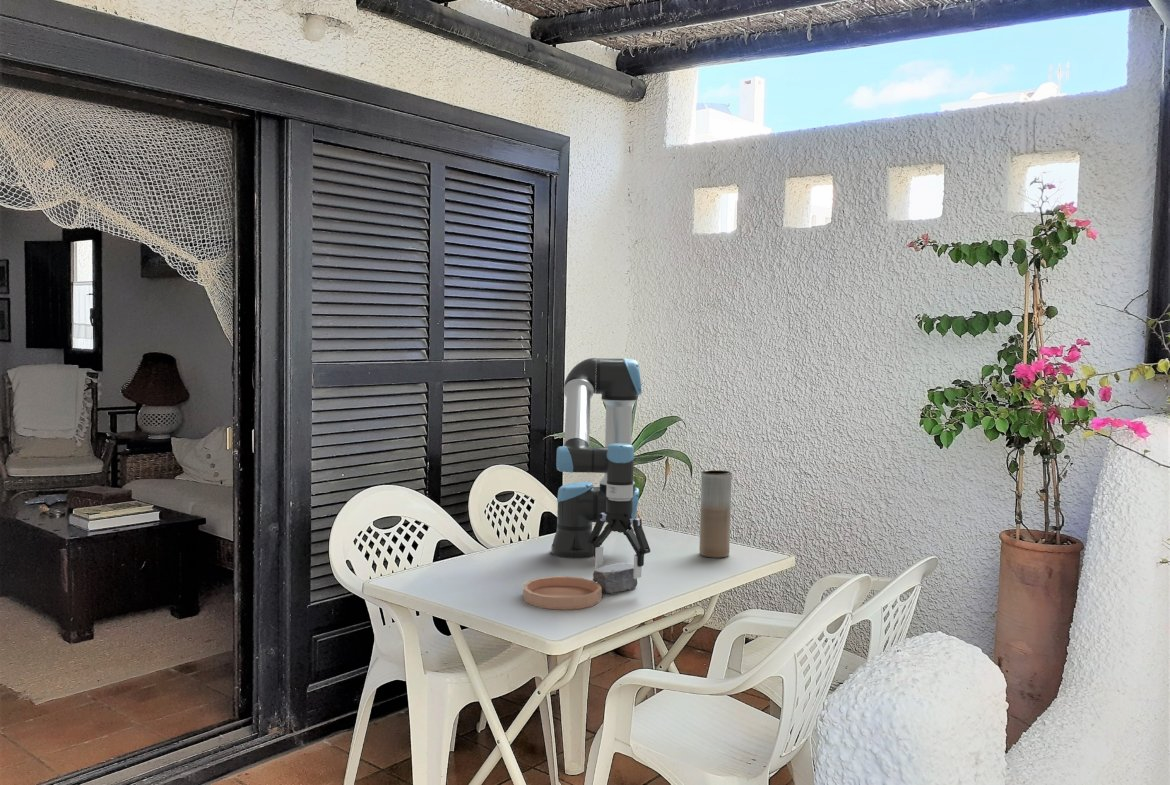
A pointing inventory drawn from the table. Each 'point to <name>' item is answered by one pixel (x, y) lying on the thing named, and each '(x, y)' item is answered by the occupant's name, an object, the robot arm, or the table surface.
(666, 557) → the table surface
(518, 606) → the table surface
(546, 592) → the saucer
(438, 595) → the table surface
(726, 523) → the vase
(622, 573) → the decorative stone
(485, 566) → the table surface
